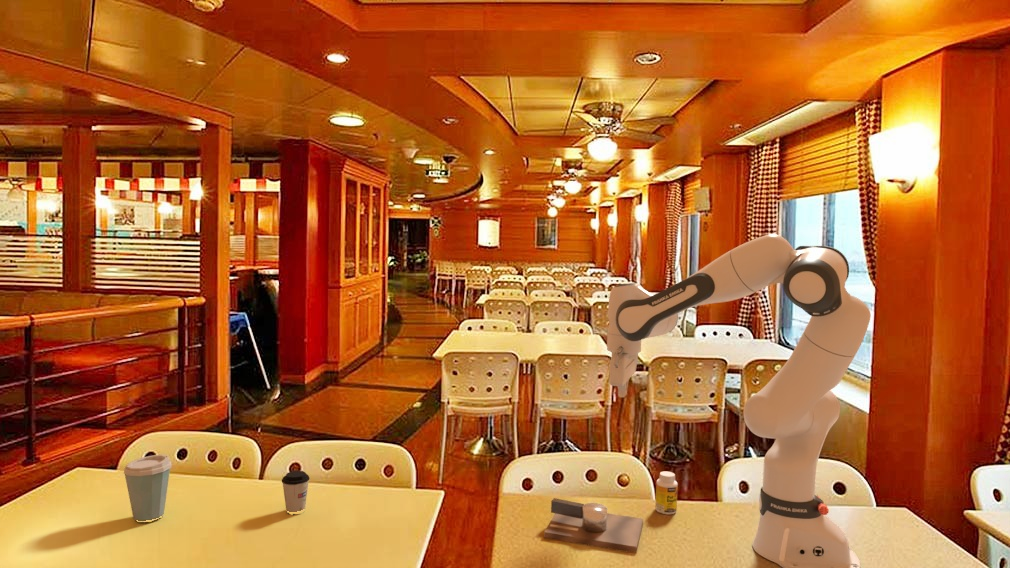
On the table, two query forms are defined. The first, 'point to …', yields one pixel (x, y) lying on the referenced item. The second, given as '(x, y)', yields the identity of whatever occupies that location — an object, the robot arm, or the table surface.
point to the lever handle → (583, 513)
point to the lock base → (616, 536)
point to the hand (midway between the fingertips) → (622, 396)
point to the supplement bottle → (666, 493)
